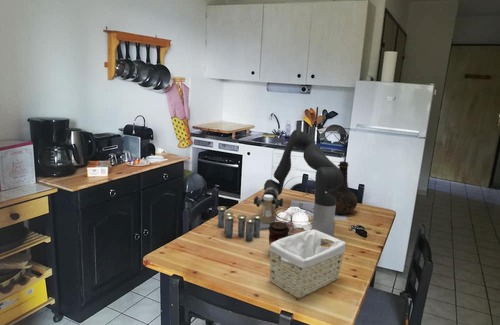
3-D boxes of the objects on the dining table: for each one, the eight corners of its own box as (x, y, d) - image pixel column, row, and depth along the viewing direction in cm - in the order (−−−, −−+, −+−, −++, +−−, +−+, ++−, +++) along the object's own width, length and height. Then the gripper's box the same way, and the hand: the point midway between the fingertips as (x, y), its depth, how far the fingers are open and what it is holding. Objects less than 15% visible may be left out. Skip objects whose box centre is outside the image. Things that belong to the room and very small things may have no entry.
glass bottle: (358, 209, 207) (364, 161, 201) (353, 219, 191) (359, 167, 185) (326, 204, 214) (331, 157, 208) (319, 213, 198) (324, 162, 192)
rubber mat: (284, 227, 176) (284, 225, 176) (259, 230, 171) (259, 228, 171) (272, 218, 188) (272, 216, 188) (249, 220, 183) (249, 218, 183)
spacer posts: (264, 240, 161) (266, 220, 158) (229, 244, 155) (230, 223, 153) (247, 222, 180) (248, 204, 178) (215, 225, 174) (216, 206, 172)
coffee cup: (262, 251, 150) (264, 221, 148) (280, 248, 154) (282, 219, 151) (272, 261, 143) (274, 230, 140) (290, 258, 146) (293, 227, 143)
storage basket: (309, 262, 144) (312, 226, 141) (344, 280, 132) (348, 242, 129) (264, 281, 128) (267, 242, 125) (300, 303, 116) (303, 261, 113)
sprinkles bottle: (269, 224, 177) (271, 197, 174) (260, 222, 178) (262, 196, 175) (272, 221, 181) (274, 195, 178) (263, 219, 182) (265, 193, 179)
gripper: (257, 187, 191) (252, 197, 176) (284, 190, 189) (282, 200, 174) (256, 201, 193) (251, 212, 177) (283, 204, 191) (281, 215, 175)
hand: (267, 206), depth 176 cm, fingers open, 8 cm apart
